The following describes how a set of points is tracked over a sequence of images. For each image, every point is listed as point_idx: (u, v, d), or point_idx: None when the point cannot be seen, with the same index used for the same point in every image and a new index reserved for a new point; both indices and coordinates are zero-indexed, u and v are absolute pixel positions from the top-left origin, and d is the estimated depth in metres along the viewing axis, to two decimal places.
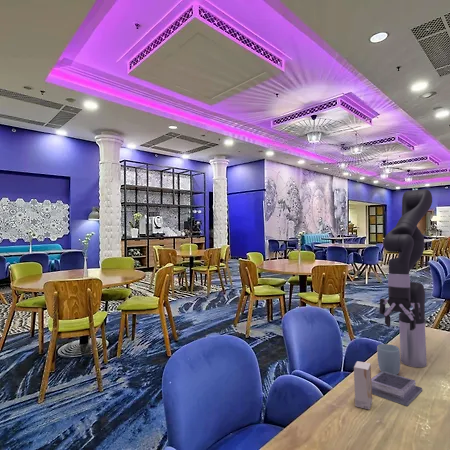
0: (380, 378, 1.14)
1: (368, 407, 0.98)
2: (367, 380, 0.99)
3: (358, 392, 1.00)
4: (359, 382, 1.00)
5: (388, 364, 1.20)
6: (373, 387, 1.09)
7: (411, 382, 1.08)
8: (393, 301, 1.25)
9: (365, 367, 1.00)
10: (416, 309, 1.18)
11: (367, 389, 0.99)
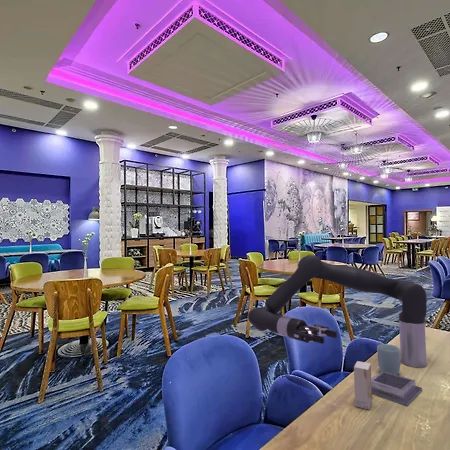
0: (380, 378, 1.14)
1: (368, 407, 0.98)
2: (367, 380, 0.99)
3: (358, 392, 1.00)
4: (359, 382, 1.00)
5: (388, 364, 1.20)
6: (373, 387, 1.09)
7: (411, 382, 1.08)
8: None
9: (365, 367, 1.00)
10: None
11: (367, 389, 0.99)
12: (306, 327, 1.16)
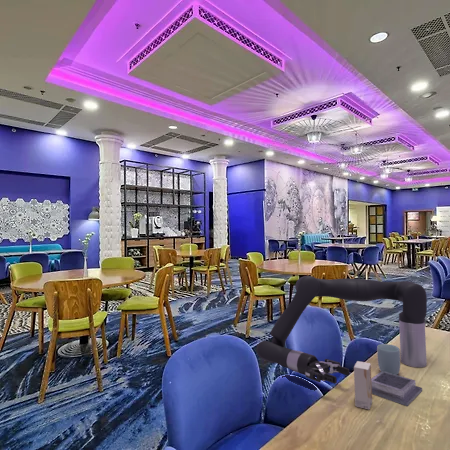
0: (380, 378, 1.14)
1: (368, 407, 0.98)
2: (367, 380, 0.99)
3: (358, 392, 1.00)
4: (359, 382, 1.00)
5: (388, 364, 1.20)
6: (373, 387, 1.09)
7: (411, 382, 1.08)
8: None
9: (365, 367, 1.00)
10: None
11: (367, 389, 0.99)
12: (317, 364, 1.13)
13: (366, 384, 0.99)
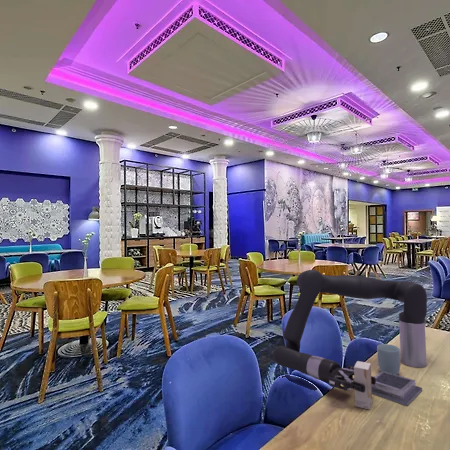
0: (380, 378, 1.14)
1: (368, 407, 0.98)
2: (367, 380, 0.99)
3: (358, 392, 1.00)
4: (359, 382, 1.00)
5: (388, 364, 1.20)
6: (373, 387, 1.09)
7: (411, 382, 1.08)
8: None
9: (365, 367, 1.00)
10: None
11: (367, 389, 0.99)
12: (340, 371, 1.06)
13: (366, 384, 0.99)
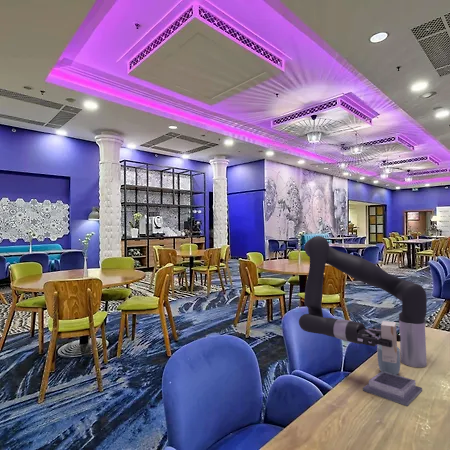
0: (380, 378, 1.14)
1: (395, 361, 1.06)
2: (394, 336, 1.06)
3: (385, 347, 1.07)
4: (386, 338, 1.07)
5: (388, 364, 1.20)
6: (373, 387, 1.09)
7: (411, 382, 1.08)
8: None
9: (392, 325, 1.07)
10: None
11: (394, 344, 1.06)
12: (367, 330, 1.14)
13: (393, 340, 1.06)
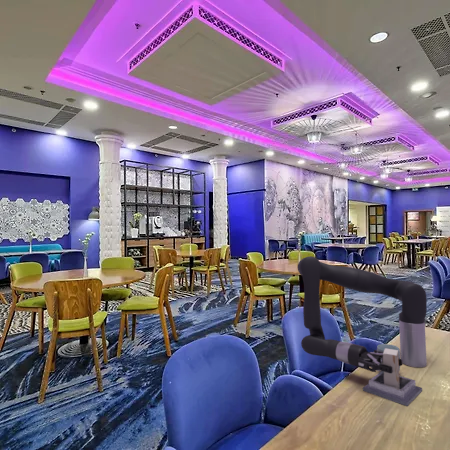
0: (380, 378, 1.14)
1: None
2: (396, 365, 1.07)
3: (387, 376, 1.08)
4: None
5: None
6: (373, 387, 1.09)
7: (411, 382, 1.08)
8: None
9: (394, 353, 1.08)
10: None
11: (396, 373, 1.07)
12: (369, 354, 1.14)
13: (395, 369, 1.07)
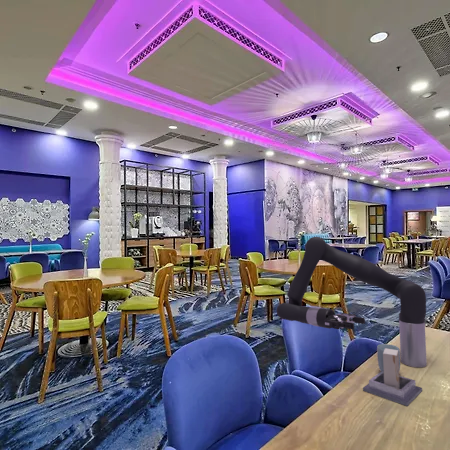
0: (380, 378, 1.14)
1: None
2: (396, 365, 1.07)
3: (387, 376, 1.08)
4: (388, 367, 1.08)
5: None
6: (373, 387, 1.09)
7: (411, 382, 1.08)
8: None
9: (394, 353, 1.08)
10: None
11: (396, 373, 1.07)
12: (335, 315, 1.24)
13: (395, 369, 1.07)
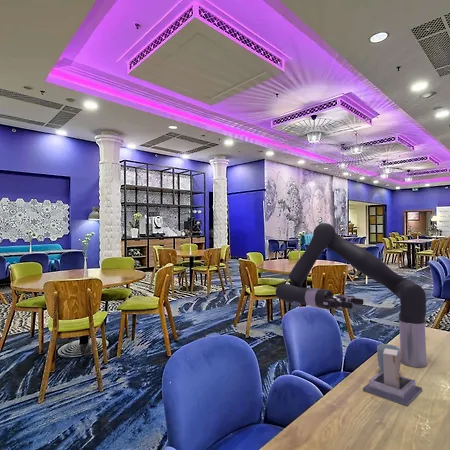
0: (380, 378, 1.14)
1: None
2: (396, 365, 1.07)
3: (387, 376, 1.08)
4: (388, 367, 1.08)
5: None
6: (373, 387, 1.09)
7: (411, 382, 1.08)
8: None
9: (394, 353, 1.08)
10: None
11: (396, 373, 1.07)
12: (334, 296, 1.24)
13: (395, 369, 1.07)
